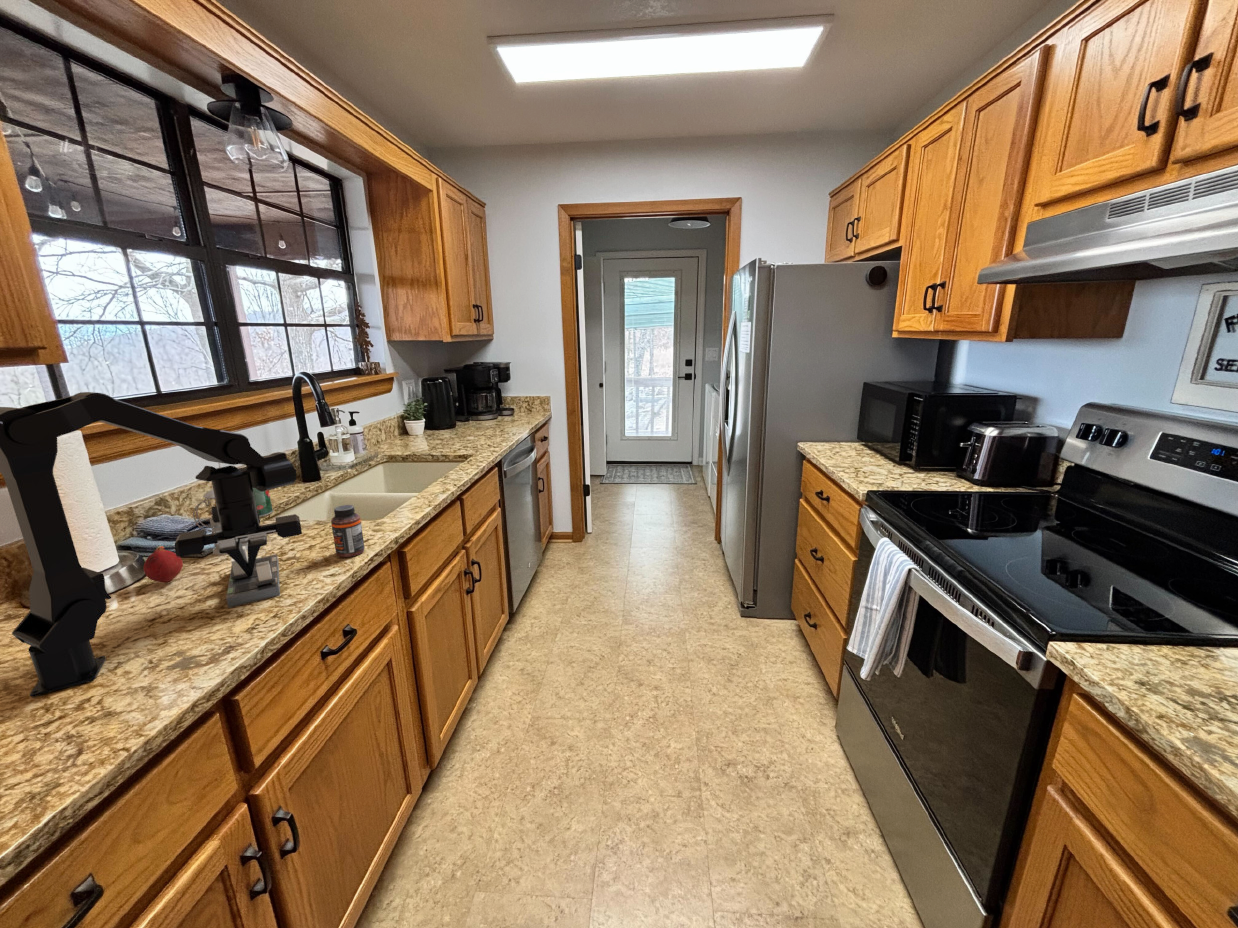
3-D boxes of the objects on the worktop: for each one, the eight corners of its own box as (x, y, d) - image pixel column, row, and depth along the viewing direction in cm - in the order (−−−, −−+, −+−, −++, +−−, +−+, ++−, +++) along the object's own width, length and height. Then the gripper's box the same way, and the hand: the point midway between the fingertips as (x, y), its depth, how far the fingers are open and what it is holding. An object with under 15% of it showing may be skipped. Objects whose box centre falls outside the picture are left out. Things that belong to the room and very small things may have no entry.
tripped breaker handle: (275, 581, 96) (271, 564, 96) (256, 586, 95) (252, 568, 94) (275, 575, 99) (271, 559, 98) (256, 580, 97) (253, 563, 96)
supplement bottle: (330, 555, 114) (322, 509, 111) (354, 546, 119) (347, 501, 116) (347, 560, 111) (339, 513, 108) (370, 550, 116) (364, 505, 113)
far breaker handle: (251, 565, 104) (247, 549, 103) (233, 568, 102) (229, 552, 101) (251, 560, 106) (248, 544, 105) (234, 563, 105) (230, 547, 104)
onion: (163, 590, 98) (153, 553, 96) (140, 588, 99) (130, 551, 97) (193, 577, 104) (184, 542, 102) (171, 575, 105) (162, 540, 103)
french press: (255, 550, 117) (233, 447, 111) (194, 559, 113) (168, 452, 106) (266, 536, 126) (247, 439, 119) (211, 543, 121) (188, 444, 115)
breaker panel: (279, 595, 96) (278, 585, 96) (228, 607, 92) (226, 597, 91) (278, 562, 110) (276, 553, 110) (233, 571, 106) (231, 562, 106)
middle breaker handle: (250, 575, 99) (246, 559, 98) (231, 579, 97) (227, 563, 96) (250, 570, 101) (247, 554, 100) (232, 574, 100) (228, 557, 99)
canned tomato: (279, 509, 145) (272, 473, 143) (257, 519, 138) (249, 481, 135) (255, 508, 146) (248, 473, 144) (232, 518, 139) (224, 480, 136)
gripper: (293, 480, 103) (304, 550, 107) (175, 496, 93) (192, 572, 96) (295, 494, 94) (307, 569, 98) (165, 512, 84) (185, 595, 88)
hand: (250, 575), depth 95 cm, fingers closed
